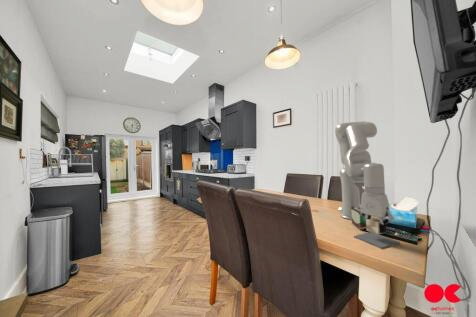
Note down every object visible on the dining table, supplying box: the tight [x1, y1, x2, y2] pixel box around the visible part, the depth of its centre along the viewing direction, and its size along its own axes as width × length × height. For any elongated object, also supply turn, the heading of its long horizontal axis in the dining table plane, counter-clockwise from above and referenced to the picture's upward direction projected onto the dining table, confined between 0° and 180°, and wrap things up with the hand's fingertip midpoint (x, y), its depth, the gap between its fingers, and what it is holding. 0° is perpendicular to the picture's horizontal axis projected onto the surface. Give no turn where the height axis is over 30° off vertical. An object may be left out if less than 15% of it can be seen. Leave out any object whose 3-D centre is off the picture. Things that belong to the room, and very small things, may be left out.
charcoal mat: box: [353, 231, 401, 250], centre depth 82 cm, size 12×12×1 cm
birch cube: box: [365, 217, 387, 235], centre depth 81 cm, size 5×5×5 cm
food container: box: [351, 206, 366, 231], centre depth 97 cm, size 12×6×10 cm, turn 168°
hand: (375, 229), depth 81 cm, fingers closed on birch cube, 5 cm apart
